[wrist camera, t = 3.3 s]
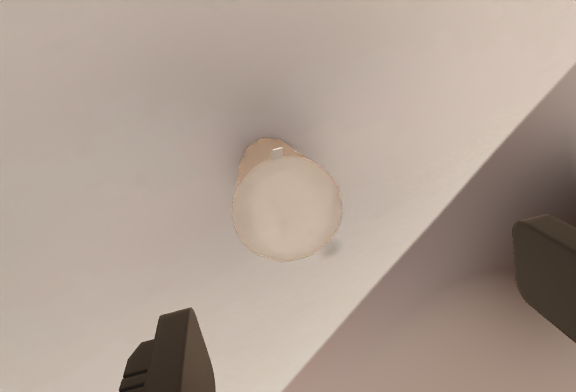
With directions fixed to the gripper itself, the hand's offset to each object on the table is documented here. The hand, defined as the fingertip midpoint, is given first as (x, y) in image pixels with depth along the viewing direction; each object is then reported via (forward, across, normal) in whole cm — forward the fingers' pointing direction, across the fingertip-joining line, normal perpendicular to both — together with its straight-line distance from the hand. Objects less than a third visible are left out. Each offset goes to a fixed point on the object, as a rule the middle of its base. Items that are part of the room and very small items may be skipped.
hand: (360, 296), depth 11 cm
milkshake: (+17, +1, 0) cm, 17 cm away
